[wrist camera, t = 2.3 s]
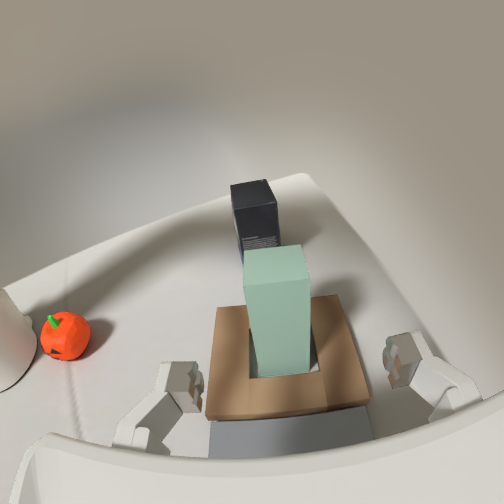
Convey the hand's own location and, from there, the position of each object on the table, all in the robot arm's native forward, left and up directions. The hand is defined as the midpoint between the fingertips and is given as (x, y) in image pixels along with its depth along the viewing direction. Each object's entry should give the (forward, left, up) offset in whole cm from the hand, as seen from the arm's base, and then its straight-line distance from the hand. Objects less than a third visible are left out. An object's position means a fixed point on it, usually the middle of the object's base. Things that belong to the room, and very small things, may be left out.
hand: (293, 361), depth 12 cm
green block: (0, +12, -15) cm, 20 cm away
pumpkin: (-28, +14, -16) cm, 35 cm away
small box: (-2, +34, -16) cm, 38 cm away
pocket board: (0, +12, -15) cm, 20 cm away
